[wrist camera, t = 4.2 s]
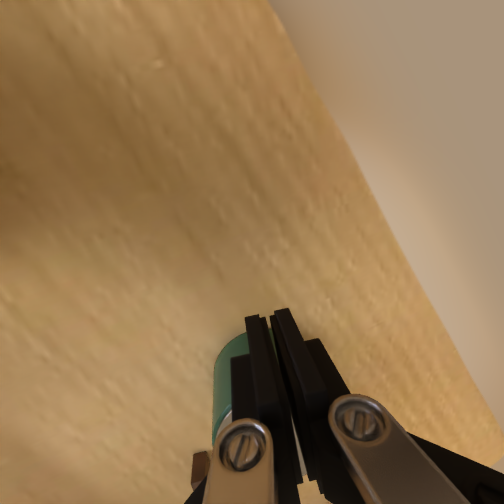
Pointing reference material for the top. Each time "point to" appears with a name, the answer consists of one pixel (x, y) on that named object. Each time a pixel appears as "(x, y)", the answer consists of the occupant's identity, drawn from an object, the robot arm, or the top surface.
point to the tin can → (223, 388)
